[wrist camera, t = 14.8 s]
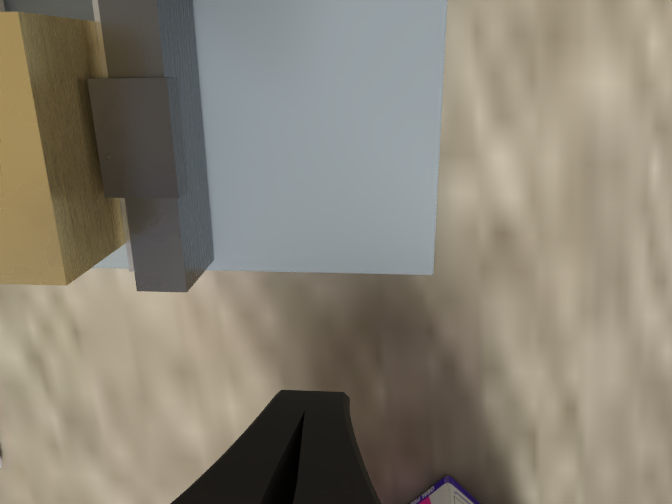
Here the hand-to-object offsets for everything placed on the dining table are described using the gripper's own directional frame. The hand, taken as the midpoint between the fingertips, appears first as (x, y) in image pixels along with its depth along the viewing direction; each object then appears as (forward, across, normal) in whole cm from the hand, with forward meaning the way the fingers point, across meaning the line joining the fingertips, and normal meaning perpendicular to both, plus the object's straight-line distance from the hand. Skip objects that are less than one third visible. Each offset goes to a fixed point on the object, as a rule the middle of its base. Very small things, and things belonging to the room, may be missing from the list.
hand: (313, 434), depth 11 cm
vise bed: (+10, +4, -5) cm, 12 cm away
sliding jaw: (+8, +5, -5) cm, 11 cm away
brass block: (+9, +8, -5) cm, 13 cm away
